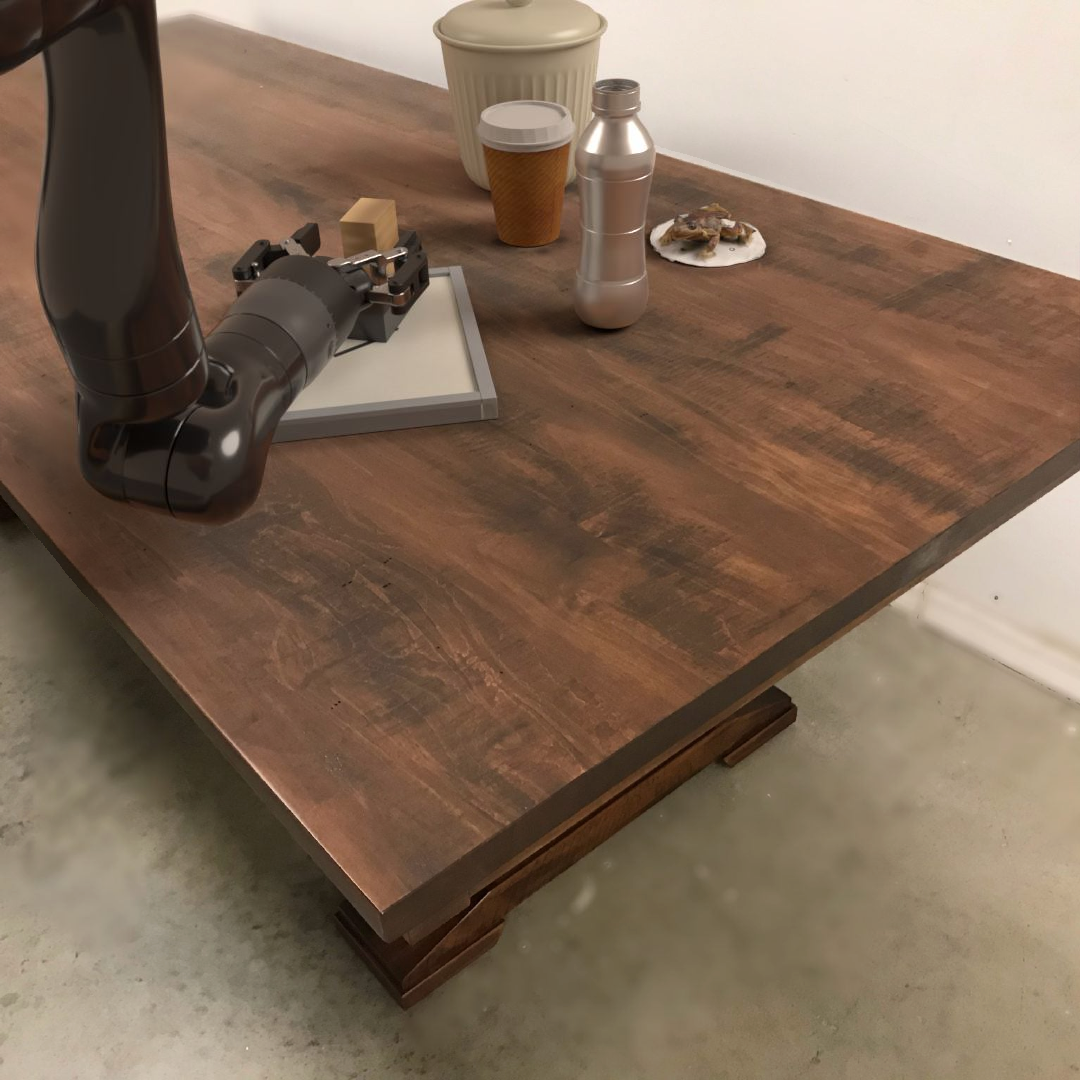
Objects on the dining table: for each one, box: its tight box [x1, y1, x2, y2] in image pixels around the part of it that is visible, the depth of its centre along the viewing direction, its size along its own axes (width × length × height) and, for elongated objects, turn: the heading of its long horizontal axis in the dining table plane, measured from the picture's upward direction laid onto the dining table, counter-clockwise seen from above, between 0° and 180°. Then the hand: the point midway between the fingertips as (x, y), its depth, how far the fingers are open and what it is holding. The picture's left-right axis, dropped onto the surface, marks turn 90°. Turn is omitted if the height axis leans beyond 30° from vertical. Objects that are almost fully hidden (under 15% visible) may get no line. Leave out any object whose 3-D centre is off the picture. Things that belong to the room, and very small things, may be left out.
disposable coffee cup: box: [476, 100, 576, 248], centre depth 108 cm, size 10×10×12 cm
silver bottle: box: [571, 77, 657, 329], centre depth 91 cm, size 6×7×20 cm
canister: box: [432, 0, 609, 192], centre depth 117 cm, size 18×18×21 cm
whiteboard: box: [271, 265, 499, 444], centre depth 92 cm, size 20×24×2 cm
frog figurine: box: [649, 203, 767, 268], centre depth 108 cm, size 12×12×4 cm
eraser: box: [338, 197, 414, 342], centre depth 92 cm, size 4×9×10 cm, turn 167°
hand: (363, 237), depth 90 cm, fingers open, 8 cm apart
